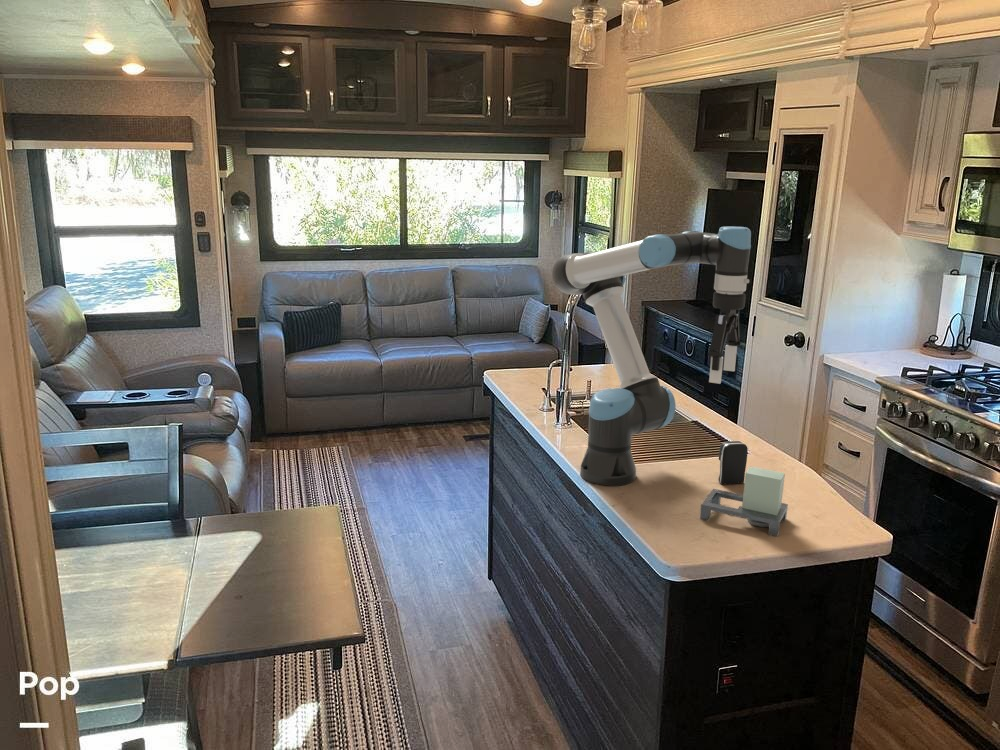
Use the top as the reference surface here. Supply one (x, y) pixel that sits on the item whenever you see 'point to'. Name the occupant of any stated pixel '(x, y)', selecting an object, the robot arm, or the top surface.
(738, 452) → the battery charger
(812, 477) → the top surface
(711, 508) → the keyhole plate
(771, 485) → the pale green boxy piece
